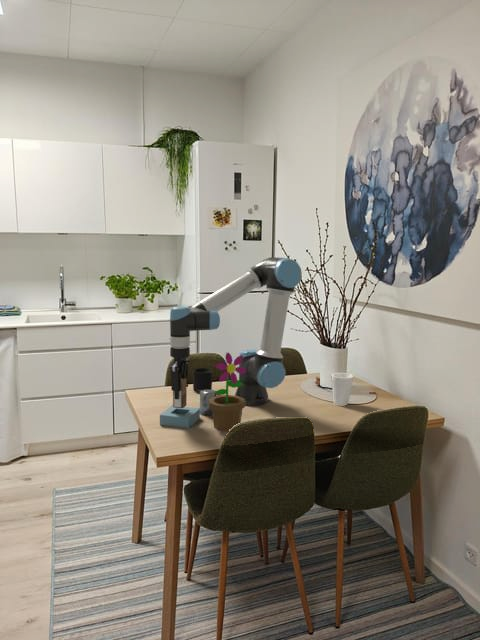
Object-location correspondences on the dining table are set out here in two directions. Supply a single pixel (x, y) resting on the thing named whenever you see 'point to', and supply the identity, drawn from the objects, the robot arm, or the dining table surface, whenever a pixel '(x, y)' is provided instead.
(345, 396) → the foam cup
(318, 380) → the toy sandwich meal
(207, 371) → the pen holder
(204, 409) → the round peg
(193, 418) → the bore block
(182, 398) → the square peg
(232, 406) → the flowerpot
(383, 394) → the dining table surface
